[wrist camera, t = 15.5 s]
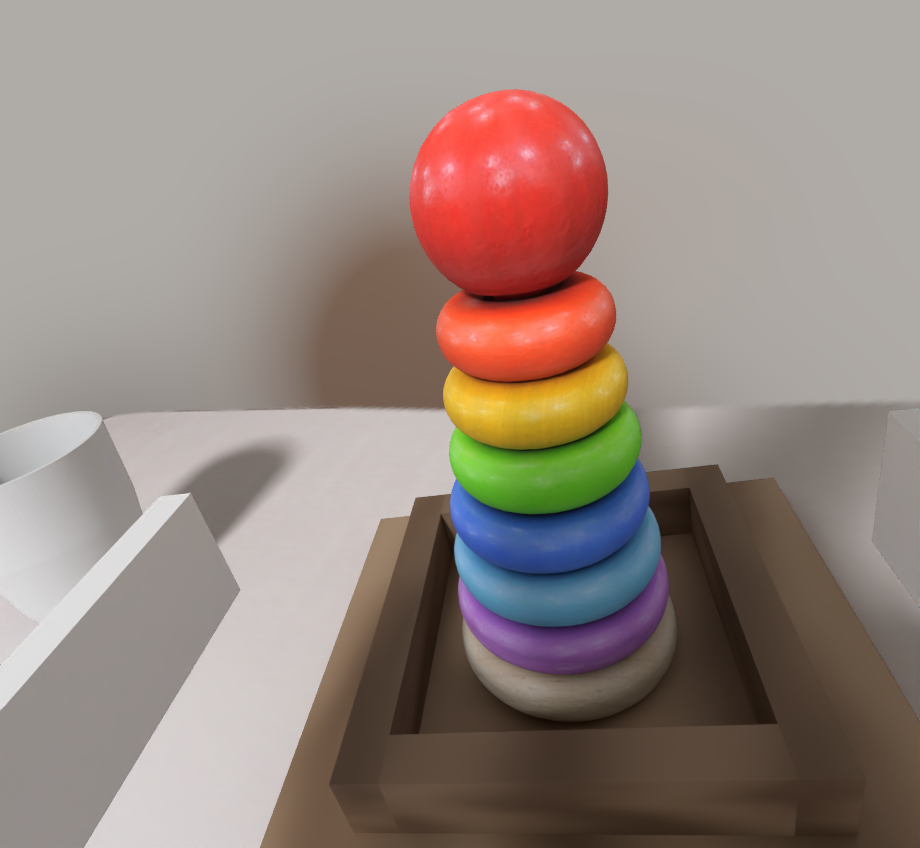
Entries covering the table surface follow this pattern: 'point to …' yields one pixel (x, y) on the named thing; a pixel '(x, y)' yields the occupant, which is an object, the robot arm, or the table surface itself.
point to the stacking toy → (540, 416)
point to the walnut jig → (625, 733)
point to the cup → (58, 507)
